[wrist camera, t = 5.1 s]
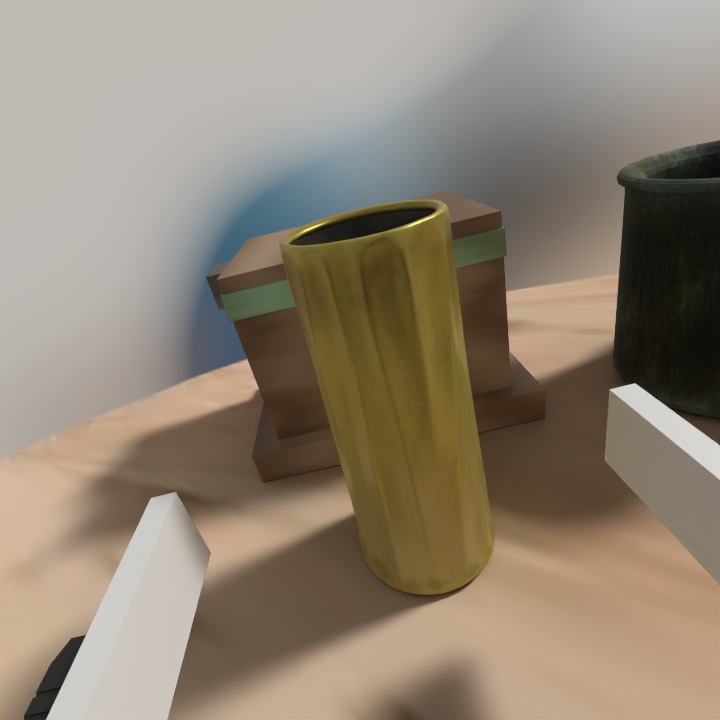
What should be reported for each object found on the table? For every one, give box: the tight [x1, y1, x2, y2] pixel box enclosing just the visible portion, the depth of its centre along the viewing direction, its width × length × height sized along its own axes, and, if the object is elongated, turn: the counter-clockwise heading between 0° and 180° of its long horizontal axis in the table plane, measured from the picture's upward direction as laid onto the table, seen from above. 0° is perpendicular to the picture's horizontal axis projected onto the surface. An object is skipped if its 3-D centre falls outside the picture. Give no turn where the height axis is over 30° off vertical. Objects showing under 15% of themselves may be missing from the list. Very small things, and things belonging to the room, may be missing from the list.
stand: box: [206, 191, 545, 482], centre depth 27 cm, size 17×12×12 cm
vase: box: [279, 200, 494, 595], centre depth 16 cm, size 6×6×14 cm
